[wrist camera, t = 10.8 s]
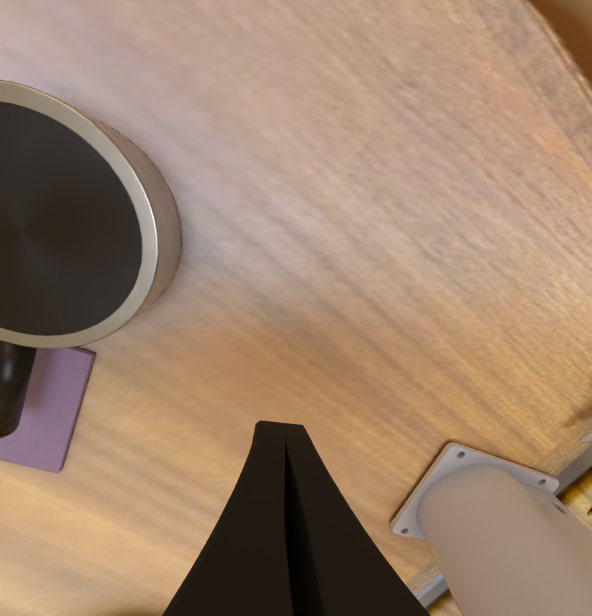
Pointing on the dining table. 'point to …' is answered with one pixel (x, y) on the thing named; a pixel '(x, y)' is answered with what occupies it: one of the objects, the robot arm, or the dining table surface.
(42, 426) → the cloth
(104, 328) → the pan
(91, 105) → the dining table surface
